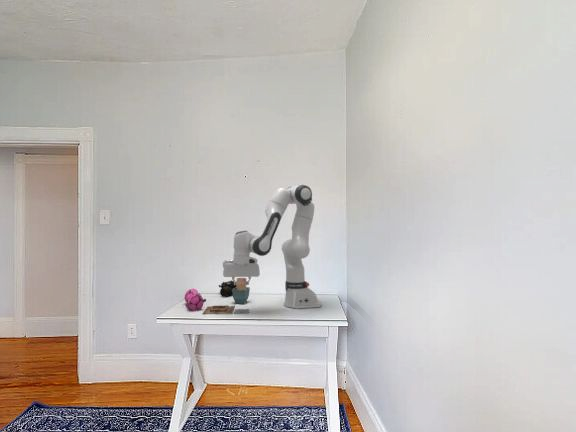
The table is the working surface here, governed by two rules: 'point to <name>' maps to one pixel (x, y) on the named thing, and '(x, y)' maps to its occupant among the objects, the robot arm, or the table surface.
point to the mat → (241, 311)
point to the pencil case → (194, 299)
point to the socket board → (219, 309)
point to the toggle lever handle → (241, 283)
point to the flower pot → (240, 295)
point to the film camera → (227, 288)
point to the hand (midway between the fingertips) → (241, 284)
